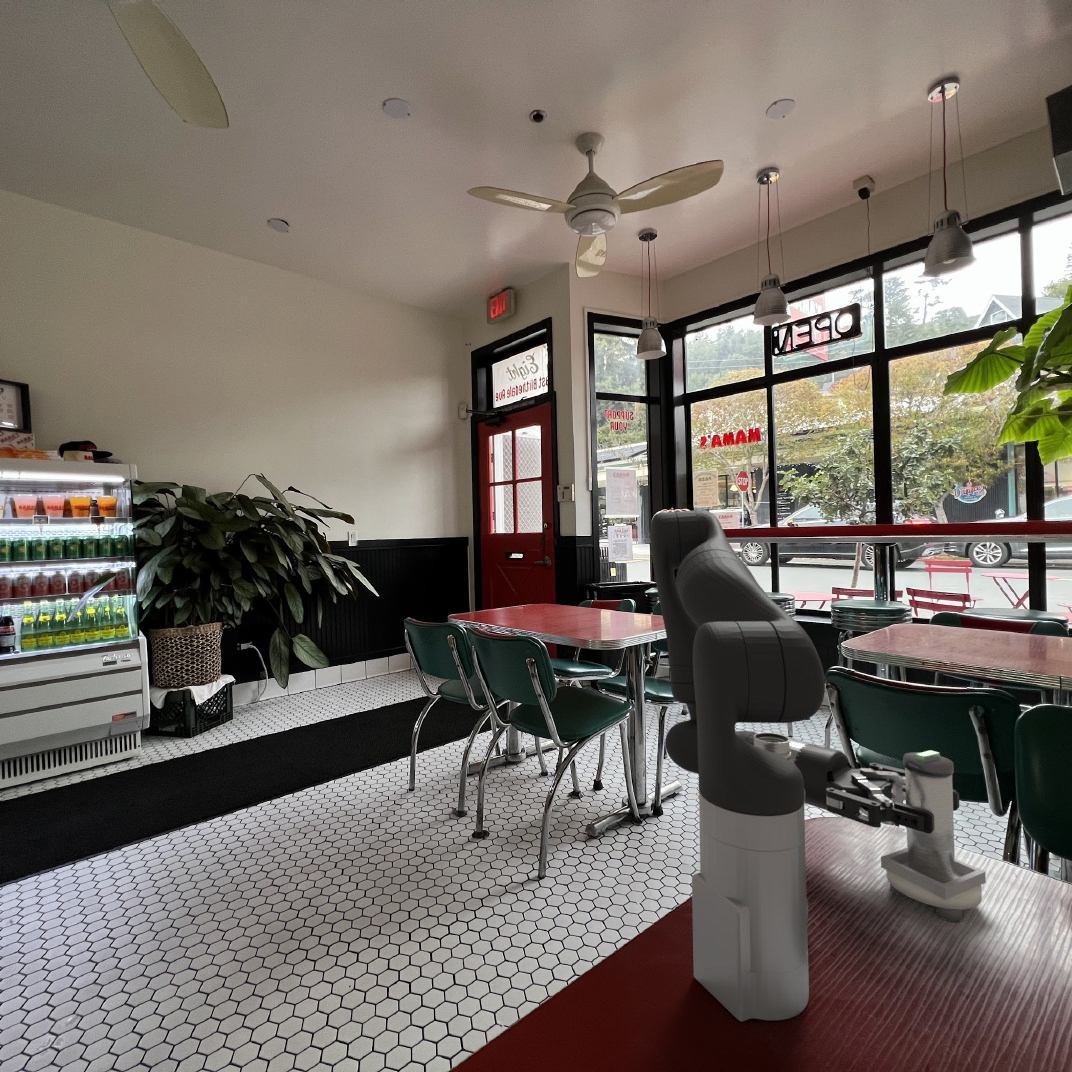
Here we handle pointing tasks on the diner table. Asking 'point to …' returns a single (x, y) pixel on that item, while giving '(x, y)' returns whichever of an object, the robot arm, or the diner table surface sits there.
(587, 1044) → the diner table surface
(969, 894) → the rectangular footed bonsai pot
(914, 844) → the grey bottle with lid
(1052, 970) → the diner table surface
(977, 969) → the diner table surface
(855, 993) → the diner table surface
